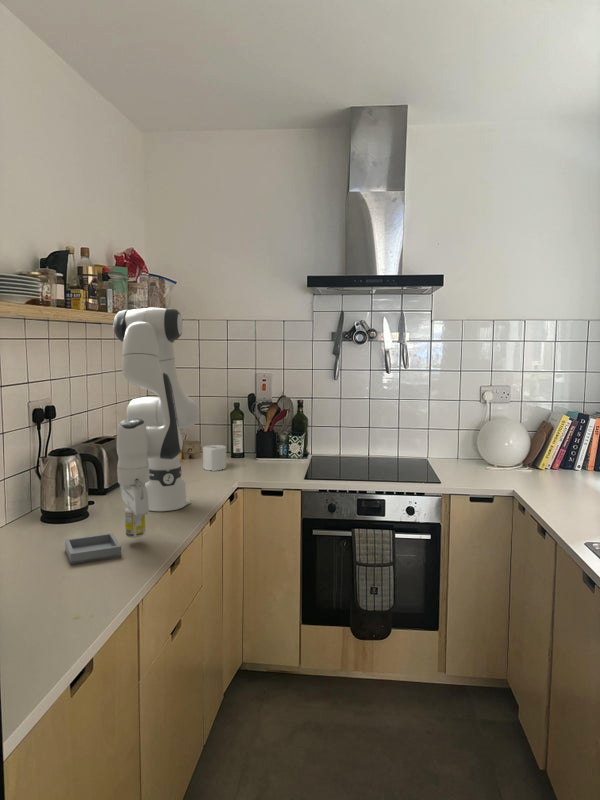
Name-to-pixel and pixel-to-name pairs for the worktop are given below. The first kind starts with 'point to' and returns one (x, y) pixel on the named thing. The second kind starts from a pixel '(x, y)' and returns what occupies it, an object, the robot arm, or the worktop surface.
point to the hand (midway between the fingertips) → (135, 522)
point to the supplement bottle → (130, 526)
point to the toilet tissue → (214, 457)
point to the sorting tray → (92, 548)
